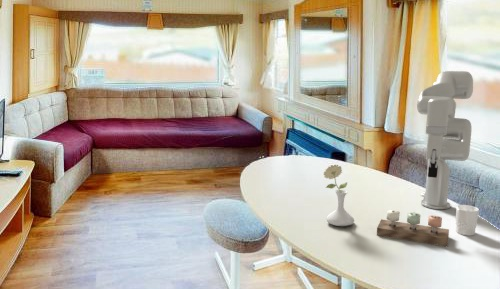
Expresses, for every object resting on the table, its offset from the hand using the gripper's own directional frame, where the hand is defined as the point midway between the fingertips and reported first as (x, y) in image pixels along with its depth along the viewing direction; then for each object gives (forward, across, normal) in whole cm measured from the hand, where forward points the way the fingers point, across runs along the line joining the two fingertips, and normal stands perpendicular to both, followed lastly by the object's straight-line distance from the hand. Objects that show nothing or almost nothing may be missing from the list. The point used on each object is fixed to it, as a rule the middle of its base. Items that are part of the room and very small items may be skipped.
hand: (432, 175), depth 173 cm
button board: (+21, +13, -5) cm, 26 cm away
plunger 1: (+19, +13, -12) cm, 26 cm away
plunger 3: (+19, +13, +3) cm, 23 cm away
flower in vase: (+21, +13, -34) cm, 42 cm away
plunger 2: (+19, +13, -5) cm, 24 cm away
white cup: (+21, +1, +13) cm, 25 cm away
